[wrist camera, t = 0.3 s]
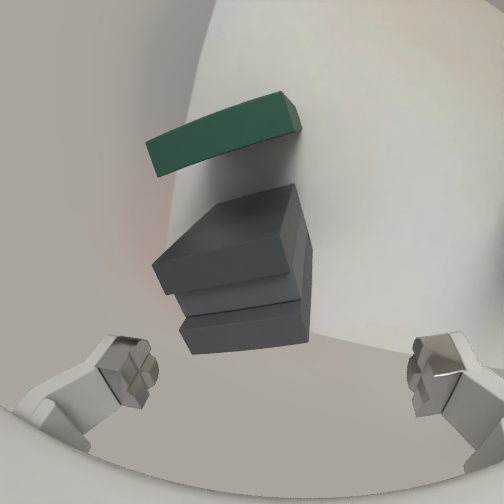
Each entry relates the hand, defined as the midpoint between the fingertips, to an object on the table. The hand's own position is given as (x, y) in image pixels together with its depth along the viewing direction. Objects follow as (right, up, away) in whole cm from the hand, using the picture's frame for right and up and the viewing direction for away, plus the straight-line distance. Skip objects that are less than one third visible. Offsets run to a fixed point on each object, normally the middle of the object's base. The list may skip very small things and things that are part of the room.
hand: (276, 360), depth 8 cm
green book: (0, +16, +21) cm, 26 cm away
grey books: (+1, +6, +25) cm, 25 cm away
